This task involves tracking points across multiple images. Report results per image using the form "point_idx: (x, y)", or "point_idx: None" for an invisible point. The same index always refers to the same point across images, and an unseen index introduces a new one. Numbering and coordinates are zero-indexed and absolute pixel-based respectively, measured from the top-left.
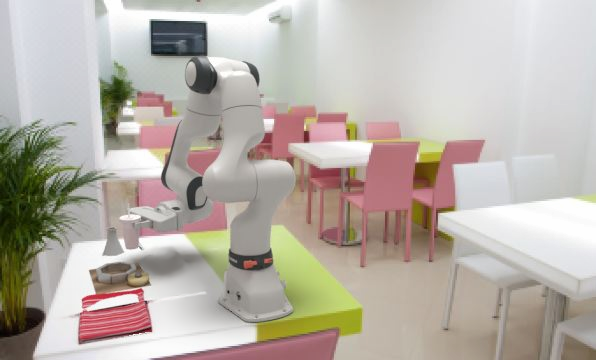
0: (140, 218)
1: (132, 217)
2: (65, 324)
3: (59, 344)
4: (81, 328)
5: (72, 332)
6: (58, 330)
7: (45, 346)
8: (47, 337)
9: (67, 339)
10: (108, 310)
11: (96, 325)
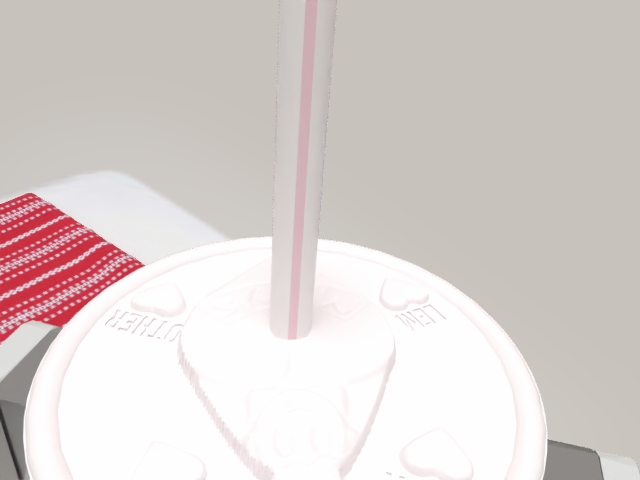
0: (29, 468)
1: (193, 331)
2: (163, 241)
3: (94, 192)
4: (69, 221)
5: (102, 226)
6: (155, 221)
7: (125, 181)
8: (156, 199)
9: (89, 206)
10: (56, 321)
11: (33, 248)
